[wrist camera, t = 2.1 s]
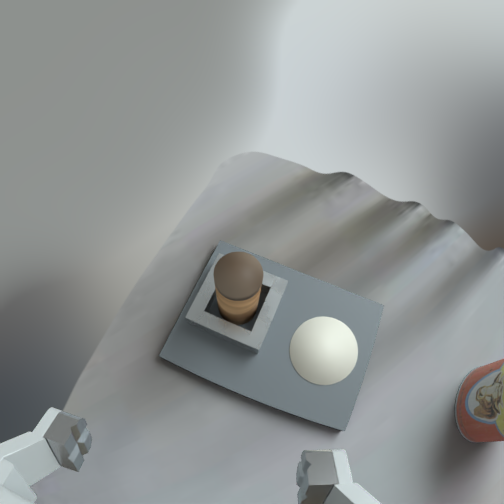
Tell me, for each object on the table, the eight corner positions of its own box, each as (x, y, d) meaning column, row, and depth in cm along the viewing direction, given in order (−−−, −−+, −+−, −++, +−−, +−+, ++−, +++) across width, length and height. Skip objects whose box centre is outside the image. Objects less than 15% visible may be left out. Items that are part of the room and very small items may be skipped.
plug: (248, 331, 35) (251, 304, 27) (211, 315, 36) (204, 285, 28) (263, 297, 37) (270, 262, 29) (228, 282, 38) (226, 244, 30)
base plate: (341, 430, 31) (345, 431, 30) (161, 357, 34) (158, 355, 33) (380, 308, 38) (384, 305, 37) (220, 244, 41) (220, 239, 40)
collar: (257, 354, 34) (259, 349, 32) (188, 323, 35) (185, 317, 33) (285, 289, 38) (288, 280, 36) (220, 262, 39) (219, 253, 37)
